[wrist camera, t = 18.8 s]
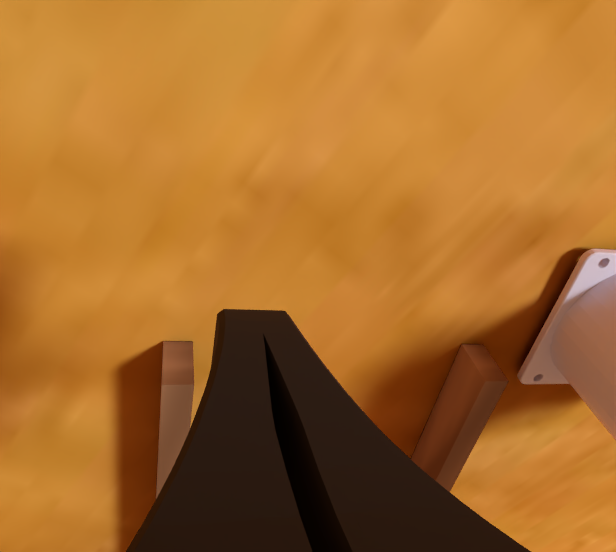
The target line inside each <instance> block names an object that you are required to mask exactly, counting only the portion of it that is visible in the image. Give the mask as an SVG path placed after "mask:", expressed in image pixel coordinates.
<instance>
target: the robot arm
mask: <svg viewBox="0 0 616 552" xmlns="http://www.w3.org/2000/svg"><path fill="white" fill-rule="evenodd" d="M517 377H518V379H519V380H520V382H521V383H522V384H570V385H571V386H572V387H573V388H574V390H575V391H576V392H577V393H578V395H579V396H580V397H581V398H582V399H583V401H584V402H585V403H586V404H587V406H588V407H589V408H590V409H591V411H592V412H593V413H594V414H595V415H596V417H597V418H598V419H599V420H600V422H601V423H602V424H603V425H604V427H605V428H606V429H607V430H608V431H609V433H610V434H611V435H612V436H613V438H614V439H615V440H616V250H608V249H590V250H588V251H586V252H585V253H583V254H582V256H581V257H580V259H579V261H578V263H577V265H576V266H575V268H574V270H573V272H572V274H571V276H570V278H569V279H568V281H567V283H566V285H565V287H564V289H563V291H562V292H561V294H560V296H559V298H558V300H557V302H556V304H555V305H554V307H553V309H552V311H551V313H550V315H549V317H548V318H547V320H546V322H545V324H544V326H543V328H542V330H541V331H540V333H539V335H538V337H537V339H536V341H535V343H534V344H533V346H532V348H531V350H530V352H529V354H528V356H527V357H526V359H525V361H524V363H523V365H522V367H521V369H520V370H519V372H518V375H517ZM126 552H531V551H529V550H528V549H526V548H525V547H523V546H522V545H520V544H519V543H517V542H516V541H514V540H513V539H512V538H510V537H509V536H507V535H506V534H505V533H503V532H502V531H500V530H499V529H498V528H496V527H495V526H493V525H492V524H490V523H489V522H488V521H486V520H485V519H483V518H482V517H481V516H479V515H478V514H477V513H475V512H474V511H473V510H471V509H470V508H469V507H468V506H466V505H465V504H464V503H462V502H461V501H460V500H458V499H457V498H456V497H455V496H454V495H452V494H451V493H450V492H449V491H447V490H446V489H445V488H444V487H443V486H441V485H440V484H439V483H438V482H436V481H435V480H434V479H433V478H431V477H430V476H429V475H428V474H427V473H426V472H424V471H423V470H422V469H421V468H420V467H419V466H418V465H416V464H415V463H414V462H413V461H412V460H411V459H410V458H409V457H408V456H407V455H406V454H404V453H403V452H402V451H401V450H400V449H399V448H398V447H397V446H396V445H395V444H394V443H393V442H392V441H391V440H390V439H389V438H388V437H387V436H386V435H385V434H384V433H383V432H382V431H381V430H380V429H379V428H378V427H377V426H376V425H375V424H374V423H373V422H372V421H371V420H370V419H369V417H368V416H367V415H366V414H365V413H364V412H363V411H362V410H361V409H360V407H359V406H358V405H357V404H356V403H355V402H354V401H353V399H352V398H351V397H350V396H349V395H348V394H347V392H346V391H345V390H344V389H343V388H342V386H341V385H340V384H339V383H338V381H337V380H336V379H335V378H334V376H333V375H332V374H331V373H330V371H329V370H328V369H327V368H326V366H325V365H324V364H323V362H322V361H321V360H320V358H319V357H318V356H317V354H316V353H315V352H314V350H313V349H312V348H311V346H310V345H309V343H308V342H307V341H306V339H305V338H304V336H303V335H302V334H301V332H300V331H299V329H298V328H297V326H296V325H295V324H294V322H293V321H292V319H291V318H290V316H289V315H288V314H287V313H286V312H285V311H273V310H235V309H223V310H222V311H221V312H219V313H218V314H217V321H216V330H215V338H214V347H213V356H212V364H211V370H210V374H209V377H208V381H207V384H206V388H205V391H204V393H203V396H202V399H201V402H200V404H199V407H198V410H197V412H196V415H195V418H194V420H193V423H192V425H191V428H190V430H189V433H188V435H187V437H186V440H185V442H184V444H183V446H182V449H181V451H180V453H179V455H178V457H177V459H176V461H175V464H174V466H173V468H172V470H171V472H170V474H169V476H168V478H167V480H166V481H165V483H164V485H163V487H162V489H161V491H160V493H159V495H158V497H157V499H156V501H155V503H154V504H153V506H152V508H151V510H150V512H149V514H148V515H147V517H146V519H145V521H144V522H143V524H142V526H141V528H140V529H139V531H138V532H137V534H136V536H135V537H134V539H133V541H132V542H131V544H130V546H129V547H128V549H127V551H126Z"/></svg>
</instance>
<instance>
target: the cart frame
mask: <svg viewBox="0 0 616 552" xmlns="http://www.w3.org/2000/svg"><path fill="white" fill-rule="evenodd" d="M507 383H508V380H507V378H506V377H505V375H504V374H503V372H502V371H501V370H500V368H499V367H498V365H497V364H496V362H495V361H494V359H493V358H492V356H491V355H490V354H489V352H488V351H487V349H486V348H485V346H484V345H478V344H462V345H461V347H460V349H459V351H458V354H457V356H456V358H455V360H454V363H453V365H452V367H451V369H450V372H449V374H448V376H447V378H446V381H445V383H444V385H443V387H442V390H441V392H440V394H439V396H438V399H437V401H436V403H435V405H434V408H433V410H432V412H431V415H430V417H429V419H428V421H427V424H426V426H425V428H424V430H423V433H422V435H421V437H420V439H419V442H418V444H417V446H416V448H415V451H414V453H413V455H412V457H411V460H412V461H413V462H414V463H415V464H416V465H418V466H419V467H420V468H421V469H422V470H423V471H424V472H426V473H427V474H428V475H429V476H430V477H431V478H433V479H434V480H435V481H436V482H438V483H439V484H440V485H441V486H443V487H444V488H445V489H446V490H447V491H449V492H450V490H451V489H452V487H453V485H454V483H455V481H456V479H457V477H458V475H459V473H460V472H461V470H462V468H463V466H464V464H465V462H466V460H467V458H468V457H469V455H470V453H471V451H472V449H473V447H474V445H475V443H476V441H477V440H478V438H479V436H480V434H481V432H482V430H483V428H484V426H485V425H486V423H487V421H488V419H489V417H490V415H491V413H492V411H493V410H494V408H495V406H496V404H497V402H498V400H499V398H500V396H501V394H502V393H503V391H504V389H505V387H506V385H507ZM193 390H194V367H193V342H182V341H163V359H162V380H161V401H160V422H159V442H158V463H157V484H156V499H157V497H158V495H159V493H160V491H161V489H162V487H163V485H164V483H165V481H166V480H167V478H168V476H169V474H170V472H171V470H172V468H173V466H174V464H175V461H176V459H177V457H178V455H179V453H180V451H181V449H182V446H183V444H184V442H185V440H186V437H187V435H188V433H189V430H190V422H191V411H192V401H193Z"/></svg>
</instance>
